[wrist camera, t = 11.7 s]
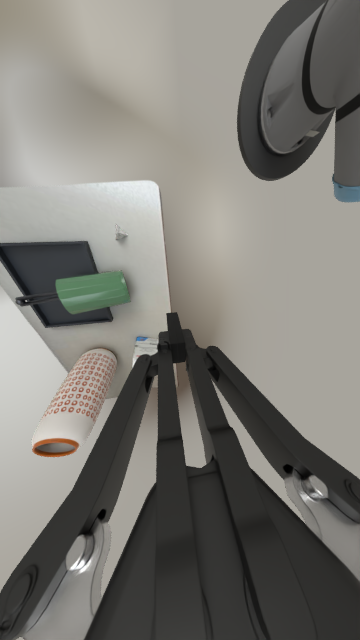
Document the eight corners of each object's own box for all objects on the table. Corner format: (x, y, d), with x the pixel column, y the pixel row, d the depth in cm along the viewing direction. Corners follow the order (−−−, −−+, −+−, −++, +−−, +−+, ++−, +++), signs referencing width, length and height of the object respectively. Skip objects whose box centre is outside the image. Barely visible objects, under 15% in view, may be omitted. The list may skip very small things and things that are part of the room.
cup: (119, 264, 35) (57, 271, 31) (125, 282, 30) (53, 294, 26) (126, 289, 42) (76, 298, 37) (132, 308, 37) (76, 321, 33)
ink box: (136, 345, 52) (130, 369, 42) (137, 335, 50) (132, 358, 40) (157, 347, 54) (156, 370, 44) (159, 338, 52) (159, 360, 42)
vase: (104, 338, 48) (50, 430, 24) (126, 359, 55) (102, 447, 31) (75, 352, 50) (-2, 453, 26) (101, 371, 57) (58, 464, 33)
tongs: (101, 277, 44) (12, 297, 31) (117, 281, 37) (12, 309, 24) (104, 284, 45) (19, 306, 32) (119, 289, 38) (20, 319, 25)
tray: (-2, 243, 31) (-12, 243, 29) (87, 241, 33) (83, 241, 32) (49, 324, 43) (45, 327, 41) (113, 318, 45) (111, 321, 43)
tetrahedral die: (127, 242, 35) (129, 243, 33) (115, 239, 34) (117, 240, 32) (127, 227, 34) (129, 227, 32) (115, 224, 32) (117, 223, 30)
